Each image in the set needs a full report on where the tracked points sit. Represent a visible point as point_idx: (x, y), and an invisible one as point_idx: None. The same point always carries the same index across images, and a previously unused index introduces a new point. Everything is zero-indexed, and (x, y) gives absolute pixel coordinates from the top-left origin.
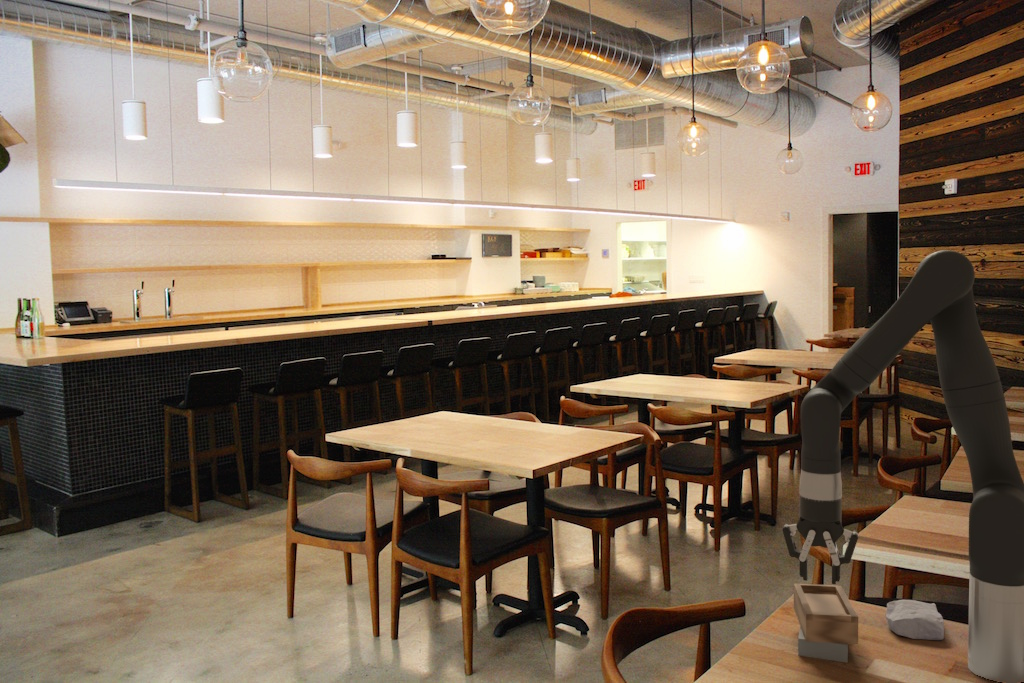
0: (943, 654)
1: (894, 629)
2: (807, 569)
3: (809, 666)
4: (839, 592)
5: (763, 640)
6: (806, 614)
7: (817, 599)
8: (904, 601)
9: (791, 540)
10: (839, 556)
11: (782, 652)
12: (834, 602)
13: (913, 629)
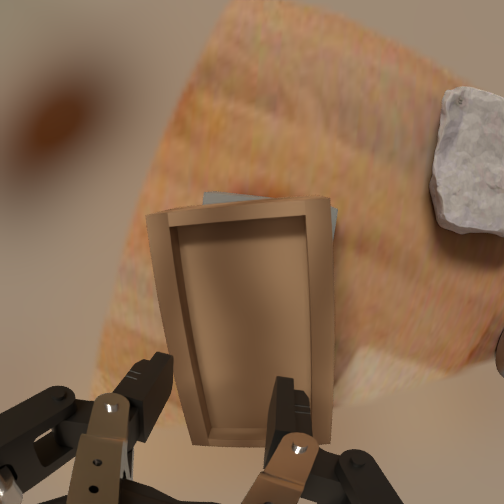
0: (487, 293)
1: (437, 221)
2: (158, 395)
3: None
4: (313, 276)
5: (129, 306)
6: (193, 444)
7: (232, 296)
8: (485, 107)
9: (31, 486)
10: (307, 482)
11: None
12: (288, 311)
13: (473, 231)
